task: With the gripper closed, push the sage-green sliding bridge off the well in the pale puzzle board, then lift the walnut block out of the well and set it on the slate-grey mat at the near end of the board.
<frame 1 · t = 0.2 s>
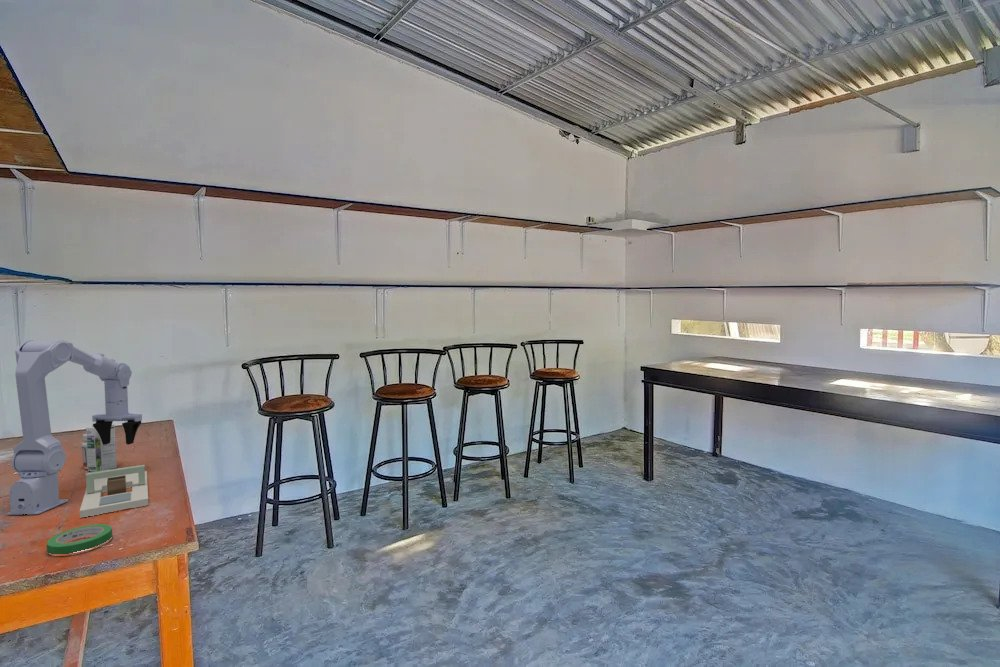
hand: (118, 443, 161), 10 cm above the table, tool pointing down, fingers open, 7 cm apart
syrup box: (103, 470, 167), on the table
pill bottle: (95, 467, 171), on the table
puzzle board: (117, 495, 143), on the table
sliding bridge: (116, 478, 143), point 5 cm above the table, slide at 0.0 cm
walnut block: (117, 496, 143), resting in puzzle board
tape roll: (80, 547, 112), on the table
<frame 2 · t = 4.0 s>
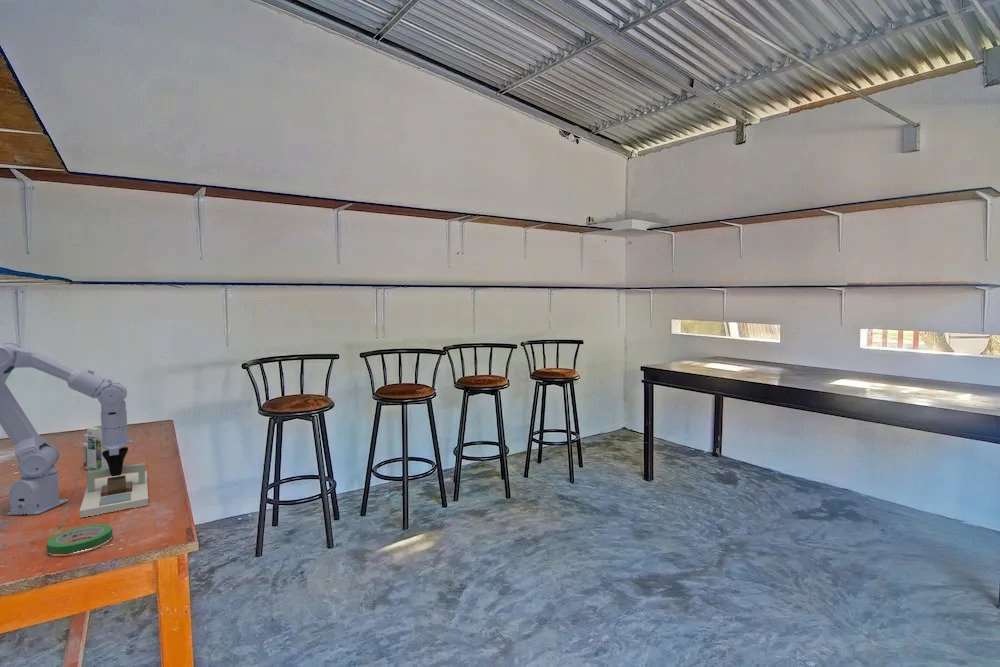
hand: (116, 475, 142), 6 cm above the table, tool pointing down, fingers closed
sliding bridge: (116, 476, 144), point 5 cm above the table, slide at 1.9 cm, touching gripper
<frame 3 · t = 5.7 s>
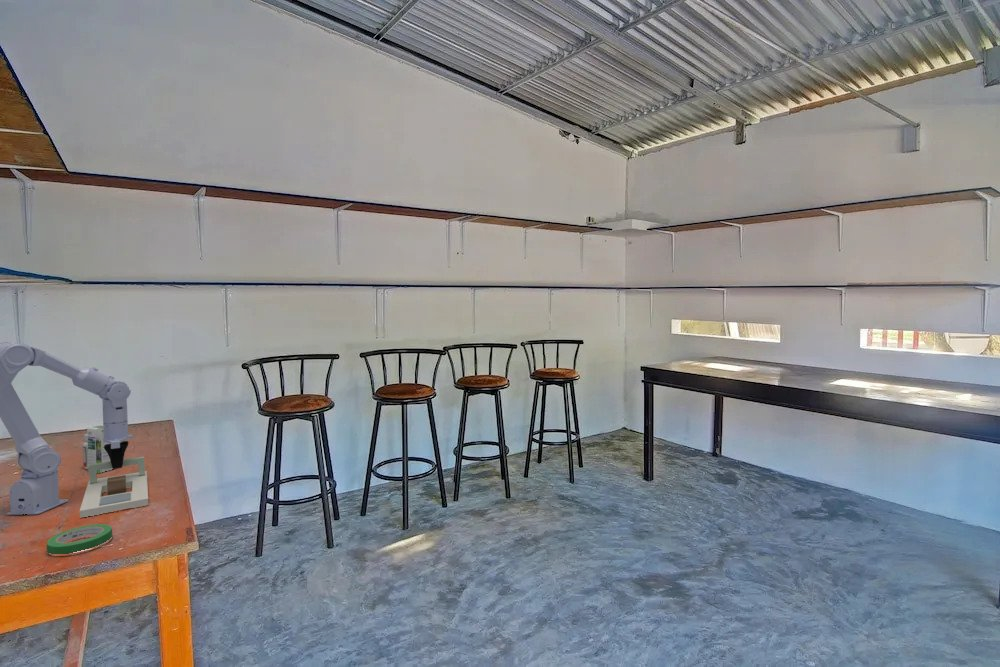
hand: (117, 467, 150), 6 cm above the table, tool pointing down, fingers closed
sliding bridge: (117, 469, 151), point 5 cm above the table, slide at 10.6 cm, touching gripper
everything else where it was.
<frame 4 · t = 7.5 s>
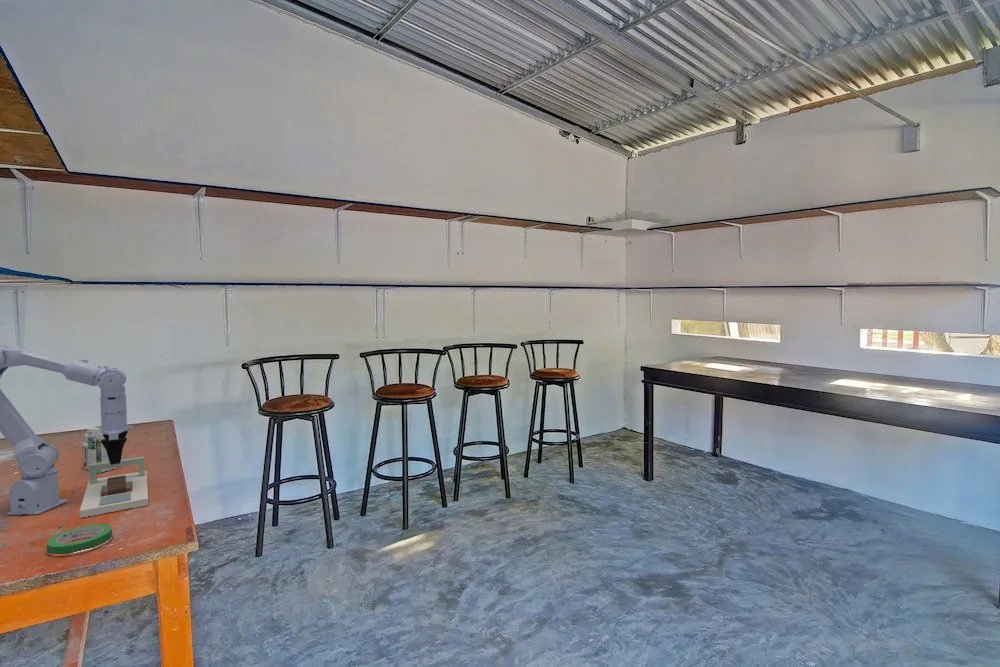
hand: (115, 460, 142), 10 cm above the table, tool pointing down, fingers open, 7 cm apart
sliding bridge: (117, 469, 151), point 5 cm above the table, slide at 10.6 cm
everything else where it was.
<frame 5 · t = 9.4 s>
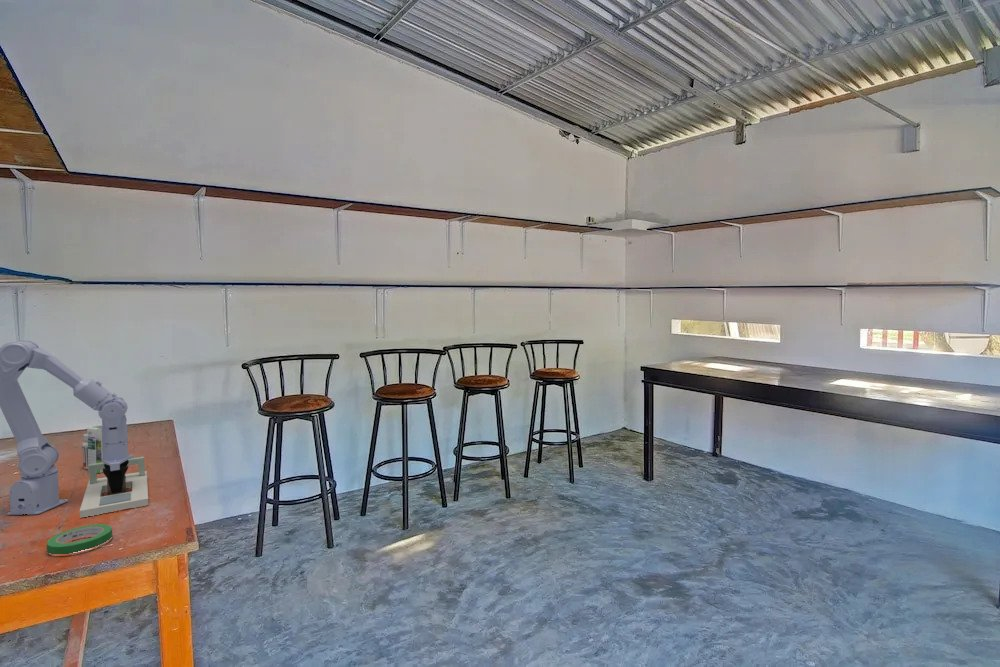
hand: (117, 490, 143), 2 cm above the table, tool pointing down, fingers closed on walnut block, 4 cm apart
walnut block: (117, 495, 143), resting in puzzle board, touching gripper
everything else where it was.
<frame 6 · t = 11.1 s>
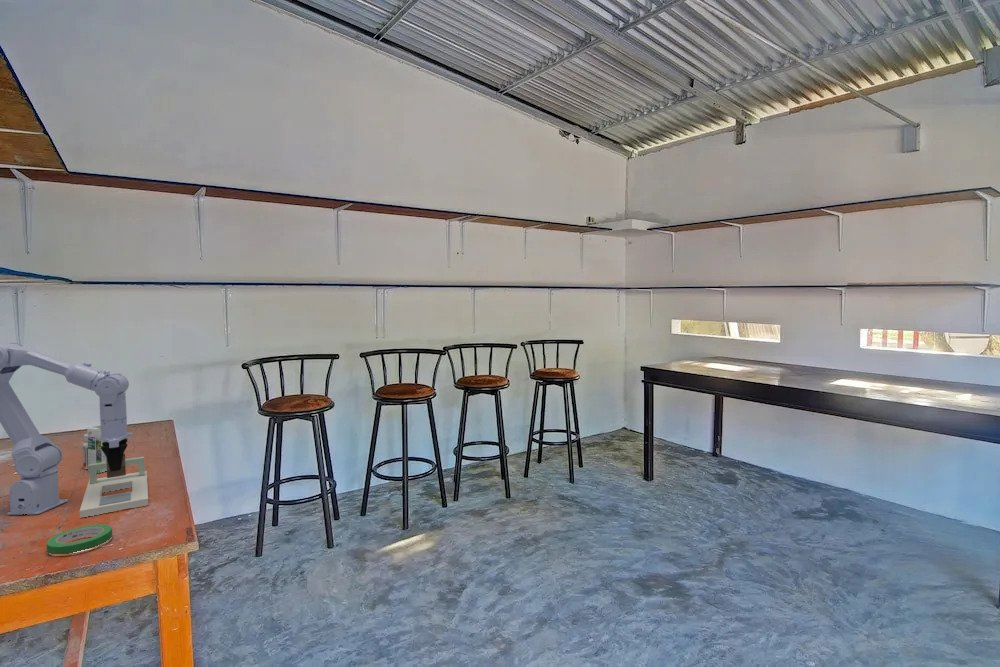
hand: (115, 468, 139), 9 cm above the table, tool pointing down, fingers closed on walnut block, 4 cm apart
walnut block: (116, 474, 139), point 7 cm above the table, touching gripper
everything else where it was.
when the fingers open (5 cm above the table, at t = 12.5 s): walnut block drops 1 cm, resting on puzzle board.
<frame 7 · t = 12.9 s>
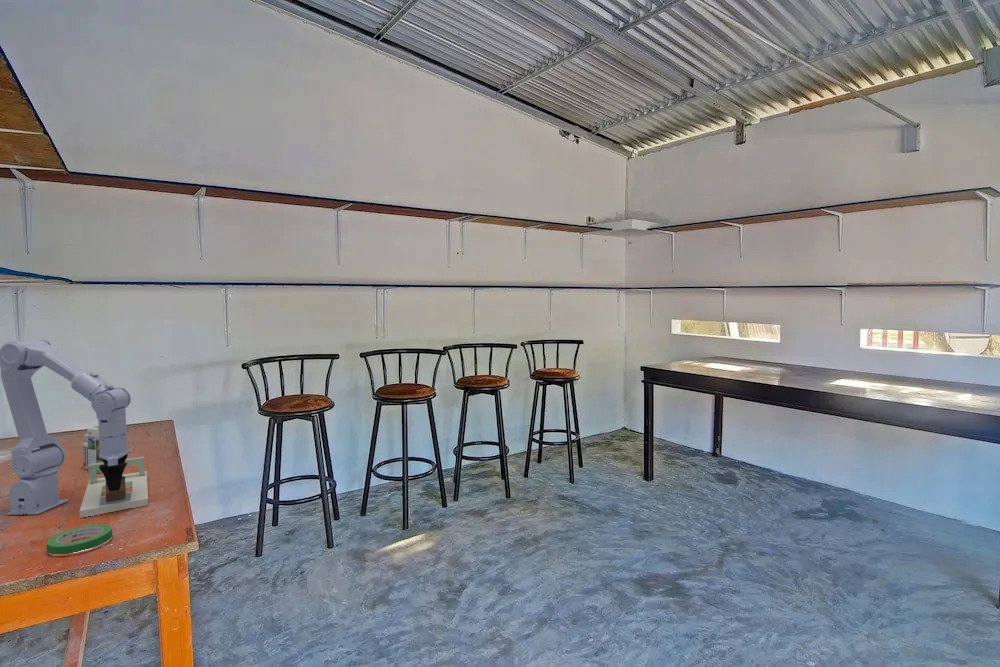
hand: (115, 486, 134), 5 cm above the table, tool pointing down, fingers open, 7 cm apart
walnut block: (116, 498, 134), point 2 cm above the table, touching puzzle board
everything else where it was.
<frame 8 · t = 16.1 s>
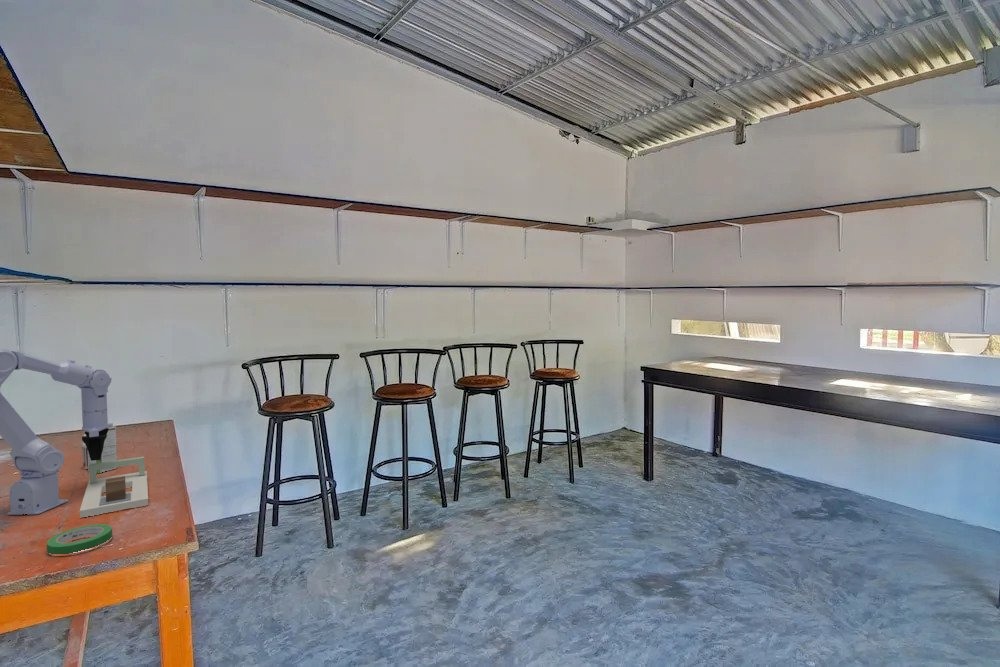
hand: (96, 457, 148), 9 cm above the table, tool pointing down, fingers open, 7 cm apart
nothing on the table moved.
at the end: walnut block 0.1 cm from the target spot on the puzzle board, point 2.3 cm above the puzzle board's base; walnut block tilted 0°; sliding bridge slide at 10.6 cm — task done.
